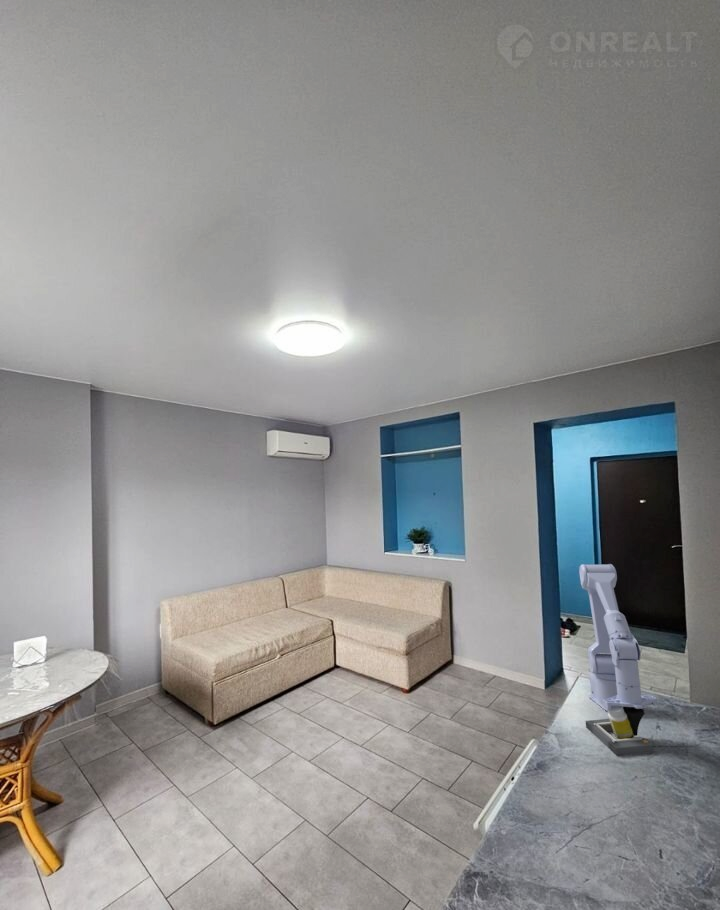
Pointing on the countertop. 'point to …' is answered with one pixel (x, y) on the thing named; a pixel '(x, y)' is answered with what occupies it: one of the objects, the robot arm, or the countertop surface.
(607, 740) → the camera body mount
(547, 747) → the countertop surface
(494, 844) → the countertop surface
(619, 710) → the supplement bottle
